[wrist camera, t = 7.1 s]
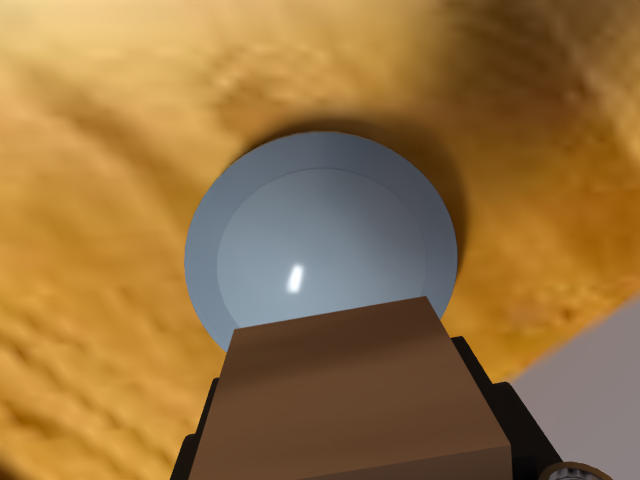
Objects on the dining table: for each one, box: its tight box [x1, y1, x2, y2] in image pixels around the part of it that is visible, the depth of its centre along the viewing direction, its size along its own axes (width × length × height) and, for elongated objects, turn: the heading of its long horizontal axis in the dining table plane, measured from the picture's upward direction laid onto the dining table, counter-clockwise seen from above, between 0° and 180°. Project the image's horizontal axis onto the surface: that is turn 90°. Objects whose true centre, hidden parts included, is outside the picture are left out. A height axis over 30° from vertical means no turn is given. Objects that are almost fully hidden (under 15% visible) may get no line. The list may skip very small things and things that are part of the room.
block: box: [188, 296, 513, 480], centre depth 10 cm, size 5×5×5 cm
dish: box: [184, 130, 457, 352], centre depth 20 cm, size 12×12×1 cm
